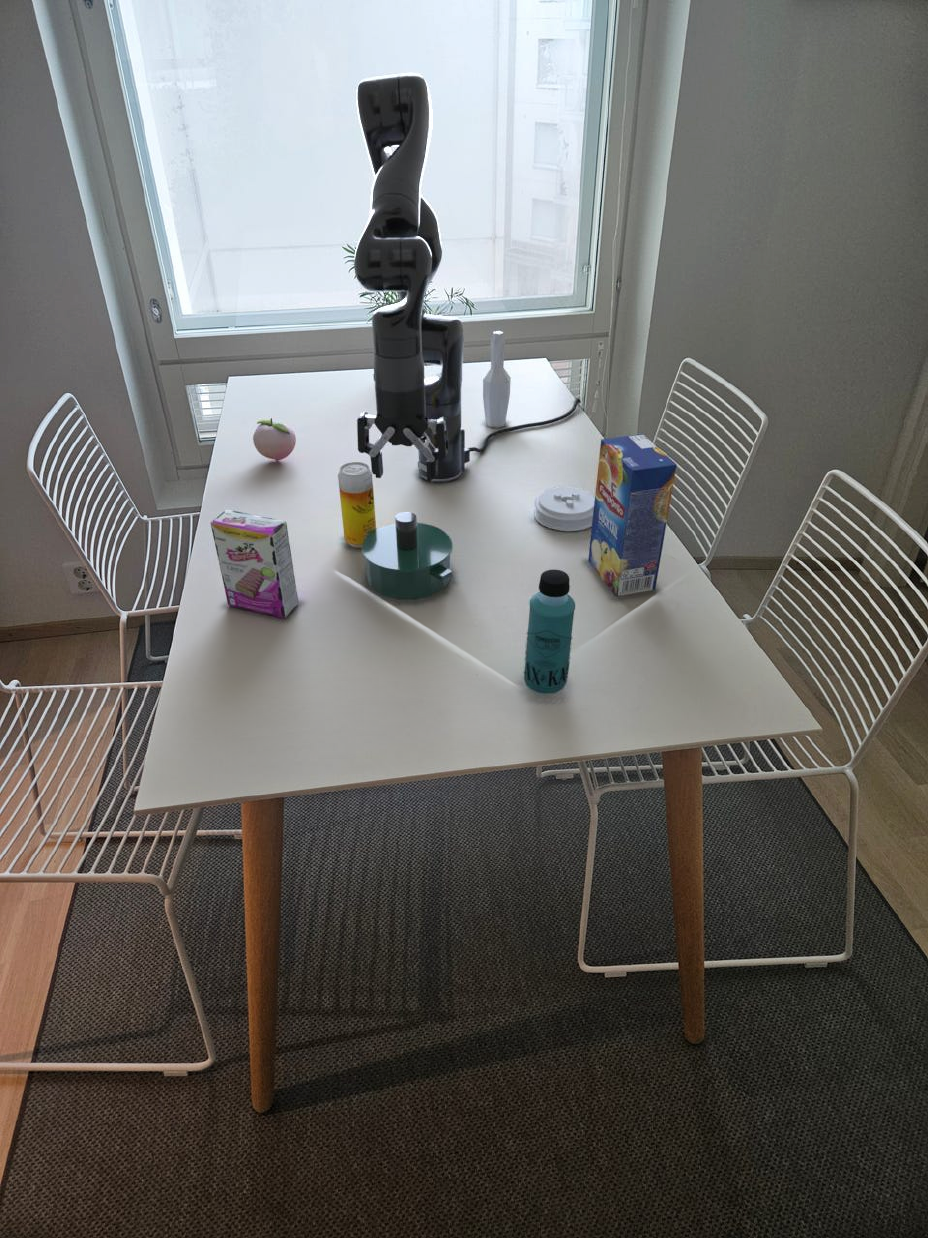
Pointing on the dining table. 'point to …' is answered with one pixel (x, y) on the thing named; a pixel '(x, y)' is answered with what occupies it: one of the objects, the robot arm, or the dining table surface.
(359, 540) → the beer can
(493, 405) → the low poly bottle
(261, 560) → the candy bar box
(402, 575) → the pot
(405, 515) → the pot lid
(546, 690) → the beverage bottle
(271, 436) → the decorative fruit
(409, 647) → the dining table surface
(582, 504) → the lid
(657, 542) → the juice carton
